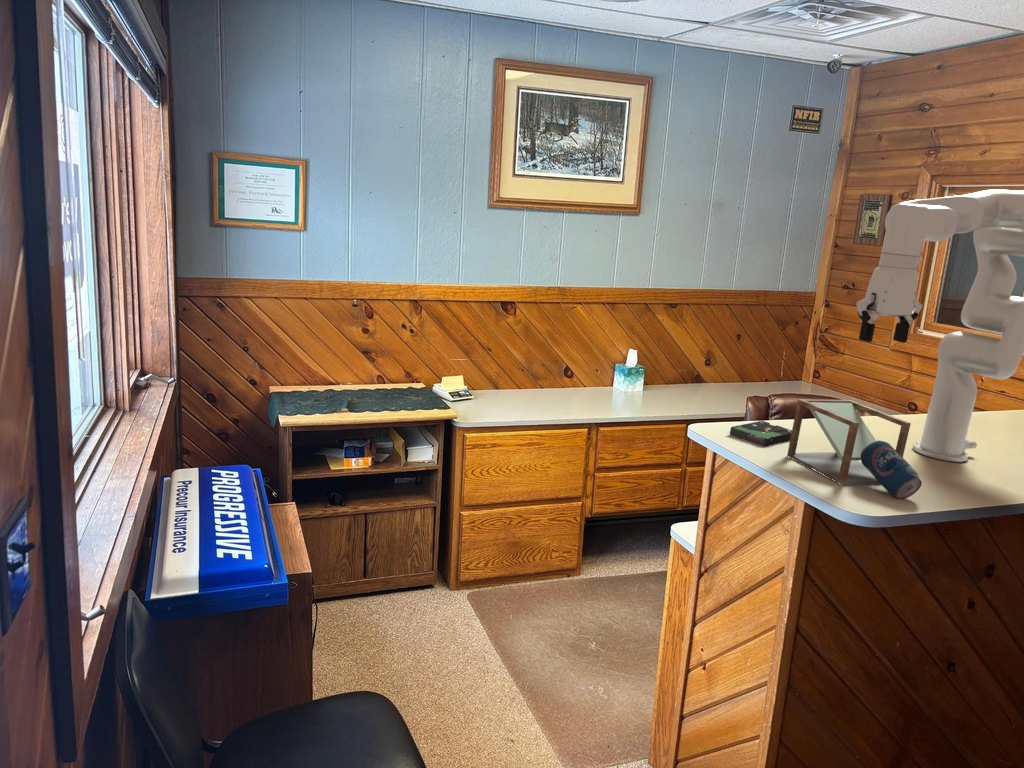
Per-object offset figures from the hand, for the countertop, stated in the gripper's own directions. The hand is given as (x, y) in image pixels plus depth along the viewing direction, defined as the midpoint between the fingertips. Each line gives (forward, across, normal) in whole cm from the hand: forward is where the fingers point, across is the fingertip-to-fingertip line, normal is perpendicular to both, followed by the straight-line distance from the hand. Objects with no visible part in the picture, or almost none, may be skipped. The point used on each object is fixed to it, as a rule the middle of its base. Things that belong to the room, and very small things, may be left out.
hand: (882, 341), depth 167 cm
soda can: (+23, +4, +7) cm, 24 cm away
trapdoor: (+21, +4, -2) cm, 22 cm away
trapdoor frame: (+30, +4, -1) cm, 30 cm away
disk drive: (+31, +8, -24) cm, 40 cm away
